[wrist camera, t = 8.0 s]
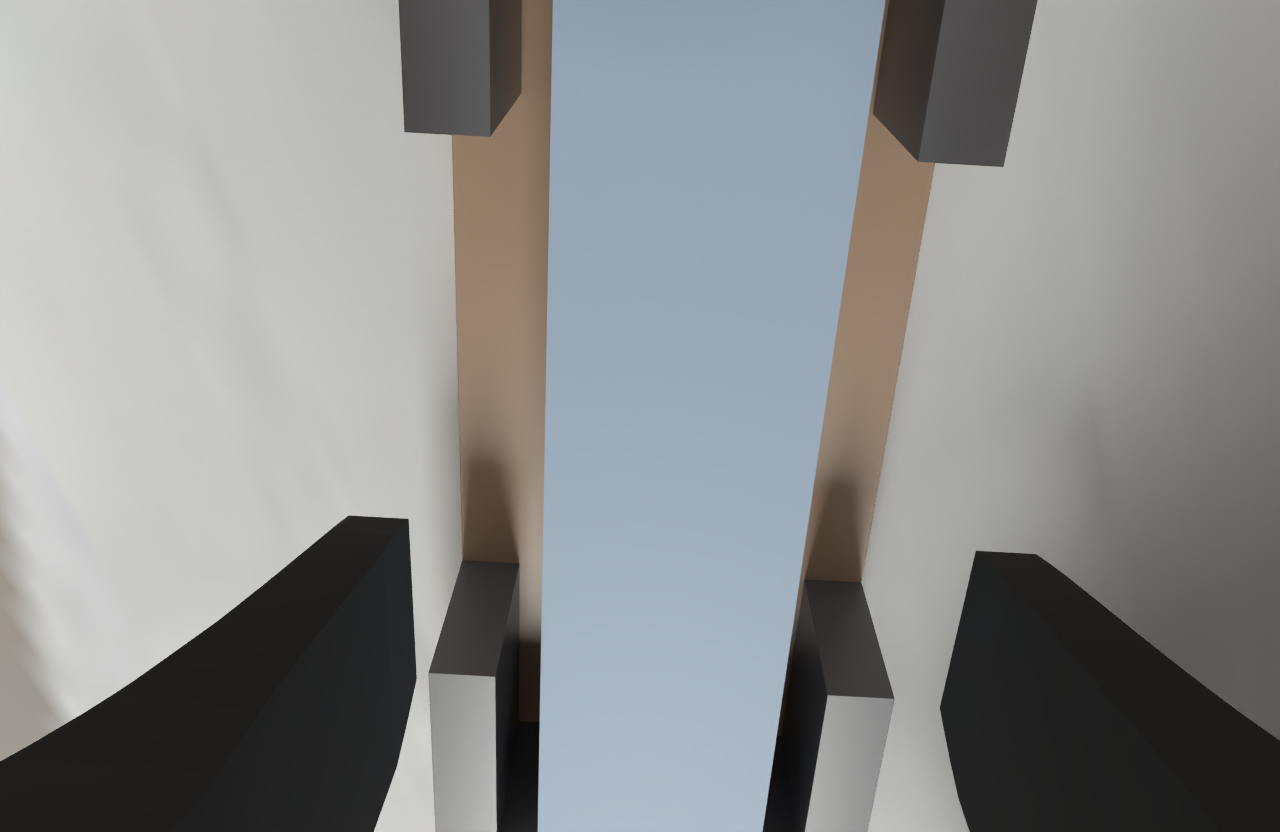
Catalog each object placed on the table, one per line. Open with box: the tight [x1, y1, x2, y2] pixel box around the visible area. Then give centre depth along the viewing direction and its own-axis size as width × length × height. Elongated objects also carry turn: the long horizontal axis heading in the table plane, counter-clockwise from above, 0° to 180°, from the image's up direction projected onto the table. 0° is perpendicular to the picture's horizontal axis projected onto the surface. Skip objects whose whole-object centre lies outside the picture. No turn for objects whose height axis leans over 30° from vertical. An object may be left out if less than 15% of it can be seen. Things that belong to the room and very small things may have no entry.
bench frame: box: [399, 0, 1037, 832], centre depth 16 cm, size 7×17×4 cm, turn 177°
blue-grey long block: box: [538, 0, 886, 832], centre depth 15 cm, size 4×14×4 cm, turn 177°
